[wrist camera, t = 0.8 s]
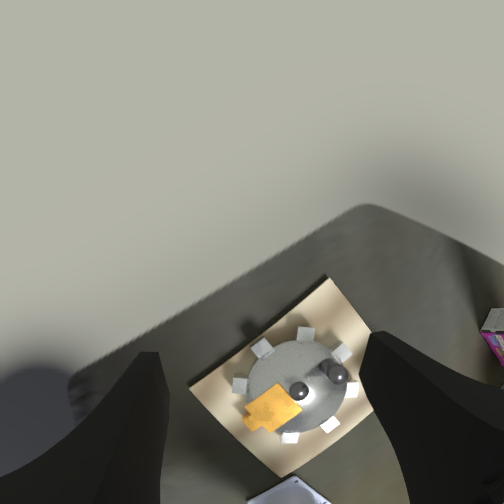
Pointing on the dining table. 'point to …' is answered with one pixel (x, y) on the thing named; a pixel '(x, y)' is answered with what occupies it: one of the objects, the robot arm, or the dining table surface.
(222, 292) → the dining table surface
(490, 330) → the candy bar box
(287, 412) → the sprocket
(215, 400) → the base board
